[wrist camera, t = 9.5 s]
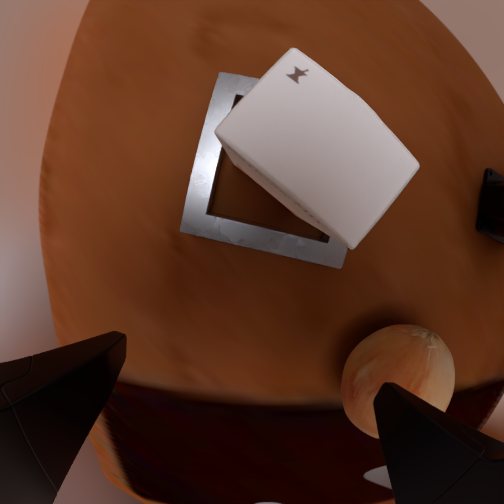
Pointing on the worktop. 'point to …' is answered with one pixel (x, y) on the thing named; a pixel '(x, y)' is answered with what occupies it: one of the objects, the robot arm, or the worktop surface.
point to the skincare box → (317, 148)
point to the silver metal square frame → (234, 229)
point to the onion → (396, 371)
